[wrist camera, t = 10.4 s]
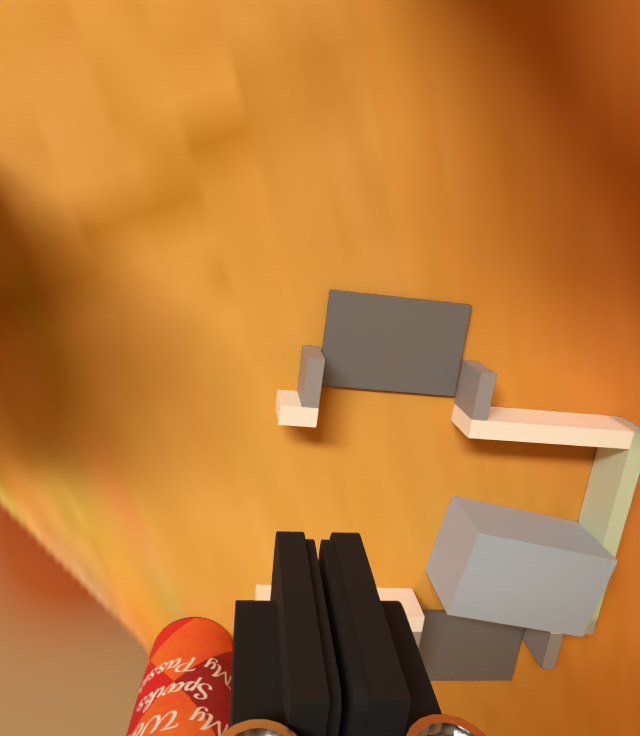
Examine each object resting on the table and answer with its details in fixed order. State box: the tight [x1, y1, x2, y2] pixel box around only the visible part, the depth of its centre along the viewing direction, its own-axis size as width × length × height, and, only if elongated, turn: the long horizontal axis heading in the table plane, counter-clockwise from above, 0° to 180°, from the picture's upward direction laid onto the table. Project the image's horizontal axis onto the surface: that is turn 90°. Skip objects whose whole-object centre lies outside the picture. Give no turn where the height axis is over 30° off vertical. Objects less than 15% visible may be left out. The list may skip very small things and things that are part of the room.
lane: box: [255, 290, 640, 680], centre depth 39 cm, size 29×24×3 cm
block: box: [425, 495, 618, 637], centre depth 39 cm, size 6×10×5 cm, turn 74°
